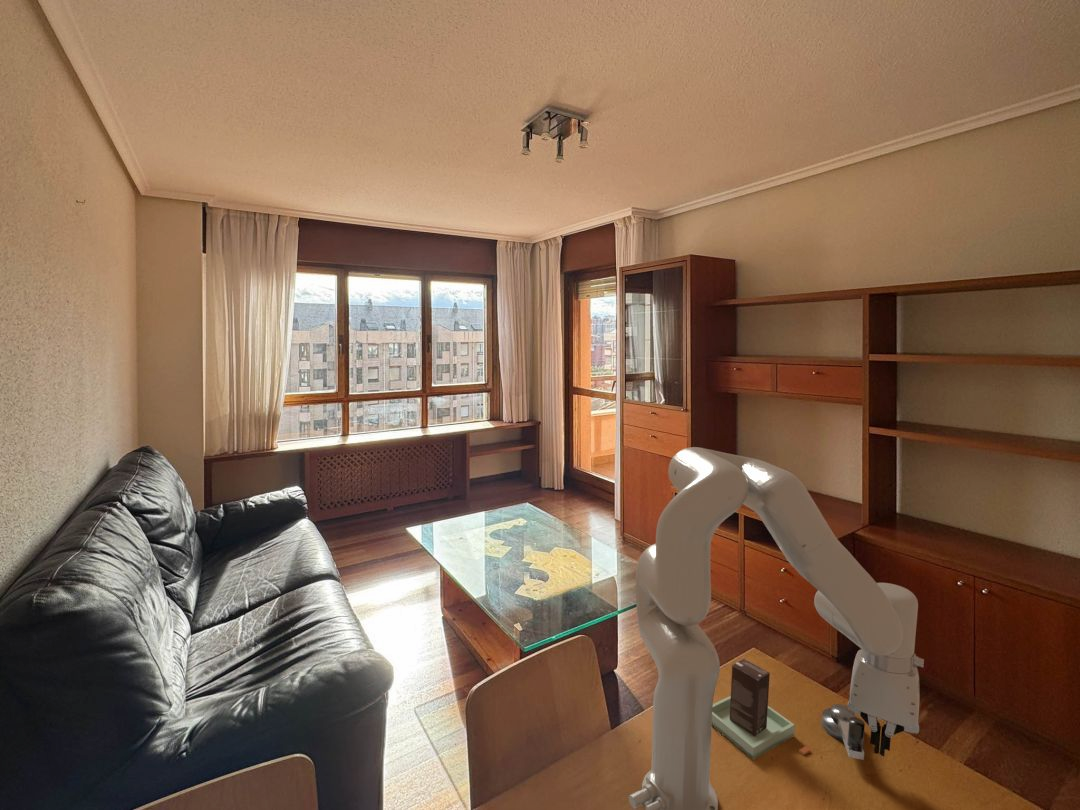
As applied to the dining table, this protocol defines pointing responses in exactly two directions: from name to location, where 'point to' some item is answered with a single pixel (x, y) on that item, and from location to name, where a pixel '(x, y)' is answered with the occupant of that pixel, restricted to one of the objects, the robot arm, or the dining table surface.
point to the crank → (849, 730)
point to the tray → (745, 741)
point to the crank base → (827, 729)
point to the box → (749, 696)
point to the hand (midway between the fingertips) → (879, 749)
